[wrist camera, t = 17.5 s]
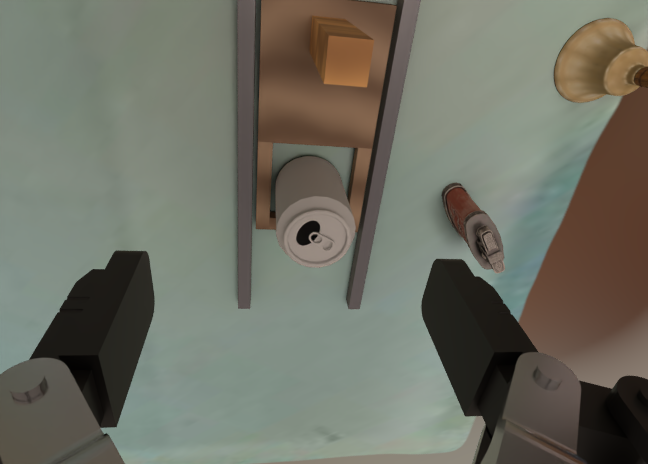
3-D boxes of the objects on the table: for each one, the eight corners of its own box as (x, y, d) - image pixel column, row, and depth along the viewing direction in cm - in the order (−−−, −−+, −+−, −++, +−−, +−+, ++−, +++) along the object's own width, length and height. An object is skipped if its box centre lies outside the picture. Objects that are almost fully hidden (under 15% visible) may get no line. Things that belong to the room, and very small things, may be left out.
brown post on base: (355, 225, 52) (380, 302, 40) (256, 222, 50) (252, 301, 38) (392, 4, 39) (445, 21, 27) (261, -11, 37) (258, 1, 26)
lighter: (481, 226, 54) (520, 275, 46) (456, 238, 55) (490, 288, 46) (462, 177, 50) (501, 220, 42) (436, 190, 51) (469, 236, 42)
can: (297, 140, 45) (304, 190, 35) (353, 173, 48) (375, 228, 38) (262, 194, 48) (261, 255, 38) (317, 222, 51) (329, 285, 41)
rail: (356, 299, 58) (359, 309, 57) (239, 298, 56) (238, 308, 54) (417, -19, 38) (424, -18, 37) (238, -41, 36) (237, -41, 34)
